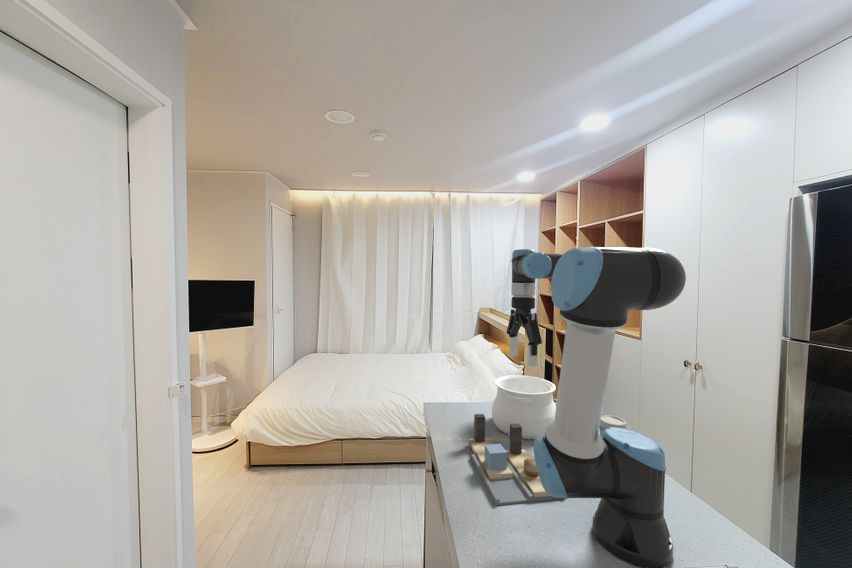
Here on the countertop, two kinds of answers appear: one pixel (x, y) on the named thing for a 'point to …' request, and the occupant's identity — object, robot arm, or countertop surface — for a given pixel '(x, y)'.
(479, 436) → the strip
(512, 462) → the strip
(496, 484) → the lane board
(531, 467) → the brown rounded piece
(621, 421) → the coffee cup
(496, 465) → the blue block
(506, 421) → the pot
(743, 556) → the countertop surface
